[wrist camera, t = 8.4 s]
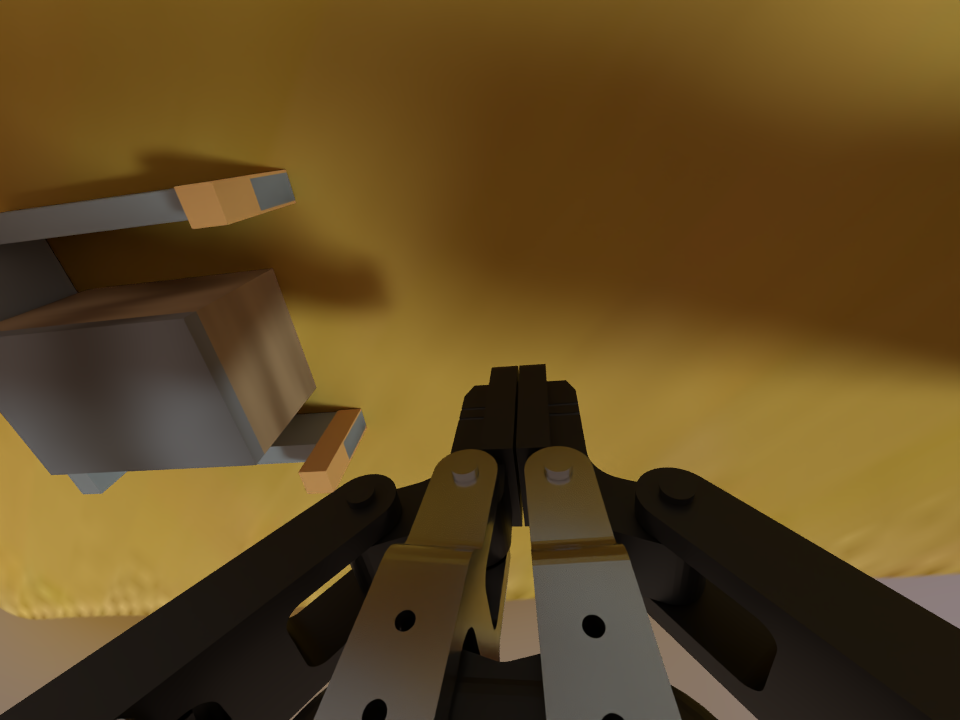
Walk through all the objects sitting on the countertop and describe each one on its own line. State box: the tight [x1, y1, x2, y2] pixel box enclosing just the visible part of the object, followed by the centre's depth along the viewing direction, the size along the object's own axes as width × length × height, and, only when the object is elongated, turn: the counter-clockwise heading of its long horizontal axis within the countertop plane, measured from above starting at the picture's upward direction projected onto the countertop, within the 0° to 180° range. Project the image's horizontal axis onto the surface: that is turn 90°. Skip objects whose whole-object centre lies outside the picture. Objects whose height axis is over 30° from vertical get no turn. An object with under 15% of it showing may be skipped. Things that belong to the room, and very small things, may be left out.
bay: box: [0, 169, 367, 494], centre depth 17 cm, size 12×12×4 cm
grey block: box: [0, 268, 316, 475], centre depth 17 cm, size 9×6×6 cm, turn 97°
